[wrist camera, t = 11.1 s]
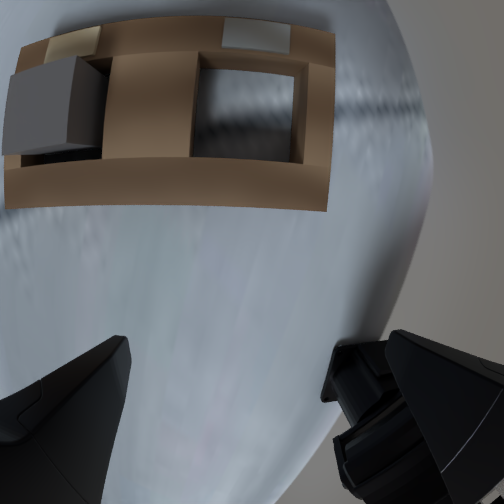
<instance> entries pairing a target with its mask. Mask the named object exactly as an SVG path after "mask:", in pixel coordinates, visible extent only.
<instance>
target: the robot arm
mask: <svg viewBox="0 0 504 504" xmlns="http://www.w3.org/2000/svg"><path fill="white" fill-rule="evenodd" d="M340 351H341V352H340ZM339 352H340V353H339ZM130 369H131V353H130V348H129V342H128V339H127V337H126V336H119V335H114V336H112V337H111V338H109V339H107V340H106V341H104V342H102V343H101V344H99V345H97V346H96V347H94V348H92V349H90V350H89V351H87V352H85V353H84V354H82V355H80V356H79V357H77V358H75V359H73V360H72V361H70V362H68V363H67V364H65V365H63V366H62V367H60V368H58V369H57V370H55V371H53V372H51V373H50V374H48V375H46V376H45V377H43V378H41V380H38V381H36V382H34V383H33V384H31V385H29V386H27V387H26V388H24V389H22V390H20V391H18V392H16V393H14V394H12V395H10V396H8V397H6V398H4V399H2V400H0V504H101V499H102V494H103V489H104V484H105V479H106V475H107V470H108V466H109V461H110V457H111V453H112V449H113V445H114V441H115V437H116V433H117V429H118V426H119V422H120V418H121V415H122V411H123V407H124V403H125V398H126V392H127V386H128V380H129V374H130ZM320 399H321V401H322V402H323V403H326V402H332V401H338V403H339V405H340V406H341V408H342V410H343V412H344V414H345V416H346V418H347V420H348V422H349V424H350V426H351V428H350V429H349V430H347V431H345V432H344V433H343V434H341V435H338V436H336V437H335V438H333V443H334V451H335V455H336V460H337V465H338V470H339V475H340V479H341V482H342V485H343V487H344V488H345V489H348V490H349V491H350V492H351V493H352V494H353V495H354V496H355V497H356V498H358V499H360V500H364V502H365V503H366V504H483V503H482V500H483V499H484V498H485V497H487V496H488V495H489V494H490V493H491V492H493V491H494V490H495V489H497V491H498V492H499V494H500V496H499V497H498V498H496V499H495V500H494V501H493V502H492V503H491V504H504V365H502V364H498V363H495V362H492V361H489V360H486V359H483V358H480V357H477V356H474V355H471V354H468V353H466V352H463V351H460V350H457V349H454V348H452V347H449V346H446V345H443V344H440V343H438V342H435V341H432V340H429V339H426V338H424V337H421V336H418V335H415V334H413V333H410V332H407V331H405V330H402V329H400V330H393V331H392V332H391V333H390V336H389V339H388V340H384V341H376V342H369V343H361V344H355V345H346V346H339V347H337V348H335V349H334V351H333V354H332V358H331V362H330V366H329V369H328V373H327V376H326V380H325V383H324V387H323V390H322V394H321V397H320Z"/></svg>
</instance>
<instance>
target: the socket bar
mask: <svg viewBox="0 0 504 504" xmlns="http://www.w3.org/2000/svg"><path fill="white" fill-rule="evenodd" d="M75 55H78V56H79V57H80V58H82V59H83V60H84V61H86V62H87V63H88V64H89V65H91V66H92V67H93V68H95V69H96V70H97V71H99V72H100V73H101V74H110V79H109V86H108V93H107V101H106V110H105V120H104V132H103V147H102V159H96V160H83V161H72V162H61V163H52V164H44V159H45V154H36V155H4V196H5V209H17V208H34V207H56V206H85V205H200V206H232V207H256V208H276V209H293V210H308V211H322V212H327V203H328V193H329V182H330V170H331V158H332V143H333V126H334V104H335V34H333V33H330V32H326V31H322V30H317V29H313V28H308V27H304V26H299V25H293V24H288V23H282V22H275V21H268V20H260V19H251V18H241V17H226V16H168V17H153V18H143V19H134V20H127V21H120V22H113V23H108V24H102V25H97V26H92V27H88V28H83V29H79V30H75V31H71V32H67V33H64V34H60V35H57V36H53V37H50V38H47V39H44V40H41V41H38V42H35V43H32V44H30V45H27V46H24V47H22V48H21V51H20V55H19V58H18V62H17V66H16V71H15V74H16V73H19V72H22V71H25V70H27V69H30V68H33V67H36V66H39V65H42V64H45V63H49V62H52V61H56V60H59V59H63V58H67V57H71V56H75ZM200 68H203V69H228V70H242V71H253V72H263V73H271V74H279V75H286V76H292V77H294V93H293V111H292V128H291V143H290V157H289V163H286V162H275V161H263V160H249V159H231V158H205V157H193V149H194V133H195V120H196V108H197V97H198V86H199V77H200Z"/></svg>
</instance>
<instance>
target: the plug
mask: <svg viewBox="0 0 504 504" xmlns="http://www.w3.org/2000/svg"><path fill="white" fill-rule="evenodd" d="M108 86H109V79H108V78H106V77H105V76H104V75H102V74H101V73H100V72H99V71H97V70H96V69H95V68H93V67H92V66H91V65H89V64H88V63H87V62H86V61H84V60H83V59H82V58H80V57H79V56H78V55H75V56H71V57H67V58H63V59H59V60H56V61H52V62H49V63H45V64H42V65H39V66H36V67H33V68H30V69H27V70H25V71H22V72H19V73H16V74H14V75H11V77H10V83H9V88H8V94H7V101H6V108H5V116H4V126H3V140H2V156H3V155H36V154H61V153H68V152H76V151H84V150H93V149H102V147H103V132H104V120H105V110H106V101H107V93H108Z"/></svg>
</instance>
